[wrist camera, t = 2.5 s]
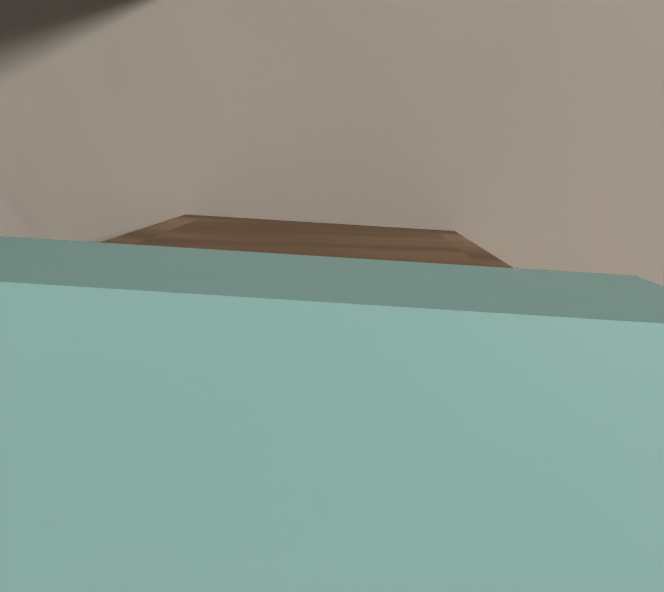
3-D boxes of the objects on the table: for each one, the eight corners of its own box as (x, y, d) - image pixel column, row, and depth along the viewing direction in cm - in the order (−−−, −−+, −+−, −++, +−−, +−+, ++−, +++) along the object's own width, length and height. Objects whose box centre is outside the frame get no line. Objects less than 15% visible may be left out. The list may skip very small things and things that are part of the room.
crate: (185, 214, 15) (24, 267, 8) (454, 231, 15) (566, 301, 8) (196, 549, 19) (97, 807, 12) (410, 564, 19) (453, 833, 11)
